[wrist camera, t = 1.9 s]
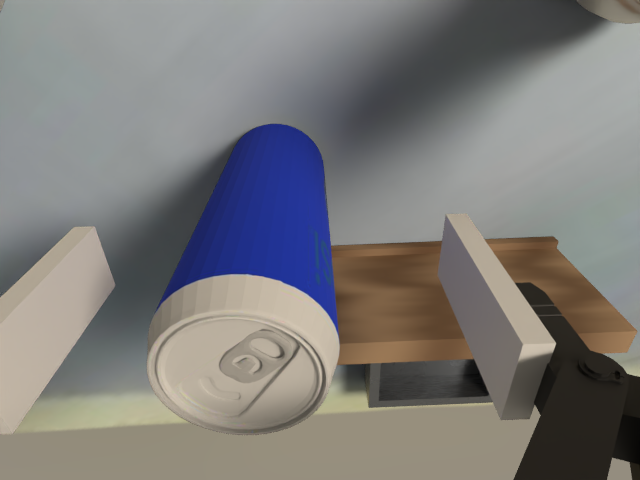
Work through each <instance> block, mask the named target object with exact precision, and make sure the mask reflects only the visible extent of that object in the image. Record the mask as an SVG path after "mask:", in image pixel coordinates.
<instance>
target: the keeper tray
mask: <svg viewBox="0 0 640 480" xmlns="http://www.w3.org/2000/svg"><path fill="white" fill-rule="evenodd" d="M365 386H366V392H367V399H368V406H369V408H373V407H396V406H419V405H442V404H465V403H488V402H493V401H492V399H491V397H490V394H489V392H488V390H487V387H486V385H485V383H484V380H483V378H482V376H481V374H480V371H479V369H478V367H477V364H476V362H475V360H474V359H461V360H438V361H415V362H391V363H368V364H365Z"/></svg>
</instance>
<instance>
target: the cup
mask: <svg viewBox="0 0 640 480" xmlns="http://www.w3.org/2000/svg"><path fill="white" fill-rule="evenodd" d="M4 1H5V0H0V12H1V9H2V7H3V4H4Z"/></svg>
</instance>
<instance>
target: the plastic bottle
mask: <svg viewBox="0 0 640 480" xmlns="http://www.w3.org/2000/svg"><path fill="white" fill-rule="evenodd" d="M576 1H577V2H578V3H579V4H580V5H581V6H582V7H584V8H585V9H586V10H587V11H590V12H592V13H594V14H596V15H598V16H600V17H603V18H605V19H607V20H610V21H612V22H617V23H625V24H632V23H640V0H576Z"/></svg>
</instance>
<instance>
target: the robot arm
mask: <svg viewBox="0 0 640 480" xmlns="http://www.w3.org/2000/svg"><path fill="white" fill-rule="evenodd" d="M438 277H439V280H440V282H441V284H442V286H443V289H444V291H445V293H446V296H447V298H448V300H449V302H450V305H451V307H452V309H453V312H454V314H455V316H456V319H457V321H458V323H459V325H460V328H461V330H462V332H463V335H464V337H465V339H466V341H467V344H468V346H469V348H470V351H471V353H472V355H473V358H474V360H475V362H476V364H477V367H478V369H479V371H480V374H481V376H482V378H483V380H484V383H485V385H486V387H487V390H488V392H489V394H490V397H491V399H492V401H493V403H494V406H495V408H496V410H497V413H498V415H499V417H500V419H501V420H513V419H514V420H515V419H530V416H531V414H532V411H533V408H534V405H536V407H537V409H538V411H539V413H540V415H541V416H540V418H539V421H538V423H537V426H536V428H535V430H534V433H533V435H532V437H531V440H530V442H529V444H528V447H527V449H526V452H525V454H524V456H523V458H522V461H521V463H520V466H519V468H518V470H517V473H516V475H515V478H514V480H607V476H608V472H609V468H610V464H611V460H612V458H616V459H620V460H624V461H628V462H630V467H631V473H632V480H640V377H637V376H633V375H629V374H627V373H626V372H625V370H624V369H623V367H621V366H620V365H619V364H618V363H617V362H615V361H614V360H613V359H611V358H609V357H607V356H605V355H603V354H601V353H597V352H594V351H590V349H589V348H588V347H587V346H586V344H585V343H584V342H583V340H582V339H581V338H580V337H579V335H578V334H577V333H576V331H575V330H574V329H573V327H572V326H571V325H570V324H569V322H568V321H567V320H566V318H565V317H564V316H562V313H561V312H560V311H559V309H558V308H557V307H556V306H554V303H553V302H552V300H551V299H550V298H549V296H548V295H547V294H546V293H545V292H544V291H543V290H541V289H540V288H538V287H537V286H535V285H534V284H532V283H531V282H523V283H514V282H513V280H512V279H511V277H510V276H509V274H508V273H507V271H506V270H505V269H504V267H503V266H502V264H501V263H500V261H499V260H498V258H497V257H496V256H495V254H494V253H493V251H492V250H491V248H490V247H489V245H488V244H487V243H486V241H485V240H484V238H483V237H482V235H481V234H480V232H479V231H478V230H477V228H476V227H475V225H474V224H473V222H472V221H471V219H470V218H469V217H468V215H467V214H446V216H445V224H444V231H443V238H442V246H441V253H440V261H439V268H438ZM115 286H116V285H115V282H114V280H113V277H112V274H111V271H110V268H109V266H108V263H107V260H106V257H105V254H104V251H103V249H102V246H101V243H100V240H99V237H98V235H97V232H96V229H95V226H91V227H74V228H73V229H72V230H71V231H70V232H69V233H67V234H66V235H65V236H64V237H63V238H62V239H61V240H60V241H59V242H58V243H57V244H56V245H55V246H54V247H53V248H52V249H51V250H50V251H49V252H48V253H47V254H45V255H44V256H43V257H42V258H41V259H40V260H39V261H38V262H37V263H36V264H35V265H34V266H33V267H32V268H31V269H30V270H29V271H28V272H27V273H26V274H25V275H23V276H22V277H21V278H20V279H19V280H18V281H17V282H16V283H15V284H14V285H13V286H12V287H11V288H10V289H9V290H8V291H7V292H6V293H5V294H4V295H2V296H1V297H0V434H13V433H14V431H15V430H16V429H17V427H18V426H19V424H20V423H21V421H22V420H23V418H24V417H25V416H26V414H27V413H28V411H29V410H30V408H31V407H32V405H33V404H34V403H35V401H36V400H37V398H38V397H39V395H40V394H41V393H42V391H43V390H44V388H45V387H46V385H47V384H48V382H49V381H50V380H51V378H52V377H53V375H54V374H55V372H56V371H57V369H58V368H59V367H60V365H61V364H62V362H63V361H64V359H65V358H66V356H67V355H68V354H69V352H70V351H71V349H72V348H73V346H74V345H75V343H76V342H77V341H78V339H79V338H80V336H81V335H82V333H83V332H84V330H85V329H86V328H87V326H88V325H89V323H90V322H91V320H92V319H93V317H94V316H95V315H96V313H97V312H98V310H99V309H100V307H101V306H102V304H103V303H104V302H105V300H106V299H107V297H108V296H109V294H110V293H111V291H112V290H113V289H114V287H115Z"/></svg>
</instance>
